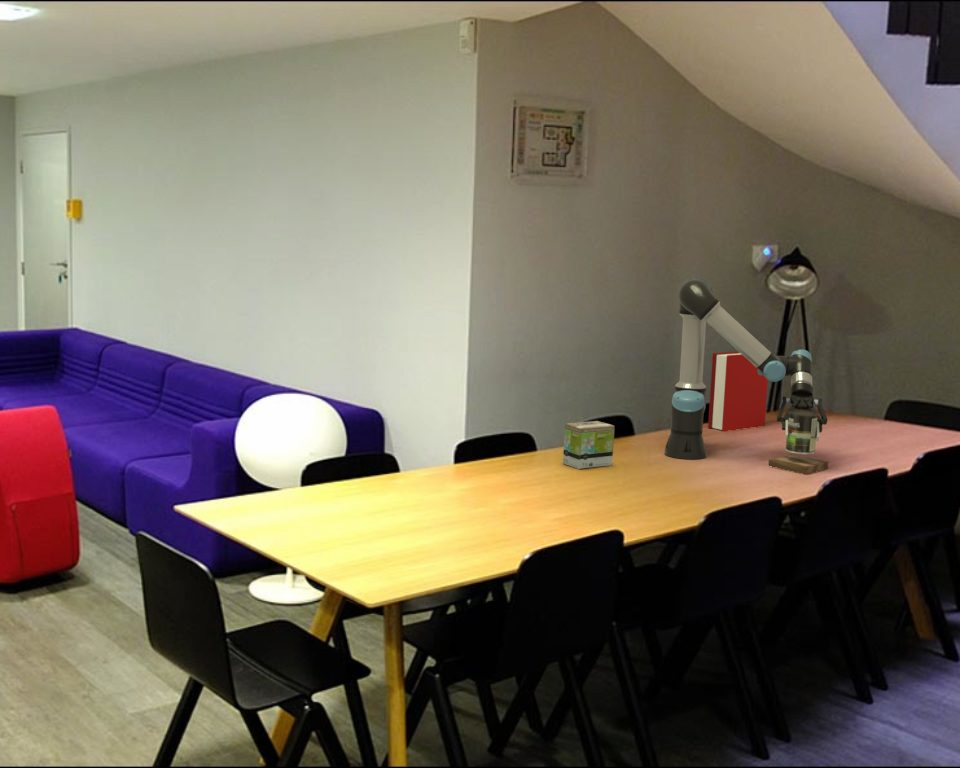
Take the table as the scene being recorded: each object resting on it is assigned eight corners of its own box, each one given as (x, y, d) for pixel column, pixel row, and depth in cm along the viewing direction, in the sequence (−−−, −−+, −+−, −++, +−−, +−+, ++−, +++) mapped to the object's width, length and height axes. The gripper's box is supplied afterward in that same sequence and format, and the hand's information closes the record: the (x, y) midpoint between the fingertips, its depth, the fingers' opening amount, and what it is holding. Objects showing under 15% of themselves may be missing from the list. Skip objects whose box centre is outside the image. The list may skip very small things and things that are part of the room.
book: (722, 431, 450) (727, 355, 445) (707, 428, 456) (712, 353, 451) (766, 426, 465) (772, 352, 460) (752, 422, 472) (757, 350, 467)
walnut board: (805, 474, 377) (806, 467, 377) (768, 466, 388) (768, 459, 388) (827, 468, 388) (828, 461, 387) (790, 461, 398) (791, 453, 398)
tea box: (579, 470, 374) (581, 428, 372) (562, 464, 383) (563, 423, 380) (613, 465, 383) (615, 424, 380) (595, 459, 391) (597, 419, 389)
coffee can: (797, 455, 380) (800, 416, 378) (779, 449, 390) (782, 410, 388) (821, 453, 384) (824, 414, 382) (803, 447, 394) (805, 409, 391)
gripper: (832, 395, 397) (834, 446, 384) (769, 391, 401) (768, 441, 388) (835, 383, 391) (836, 434, 378) (770, 379, 395) (769, 430, 382)
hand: (802, 438), depth 383 cm, fingers closed on coffee can, 10 cm apart
